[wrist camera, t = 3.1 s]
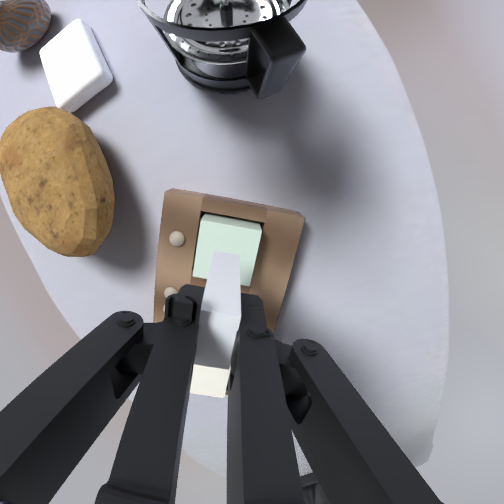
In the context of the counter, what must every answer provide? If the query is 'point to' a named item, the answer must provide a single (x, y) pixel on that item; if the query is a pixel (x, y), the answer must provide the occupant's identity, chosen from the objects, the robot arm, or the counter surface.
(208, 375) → the cream button
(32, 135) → the potato
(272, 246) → the console
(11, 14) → the vase
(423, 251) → the counter surface
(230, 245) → the sage button
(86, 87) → the soap
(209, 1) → the french press
